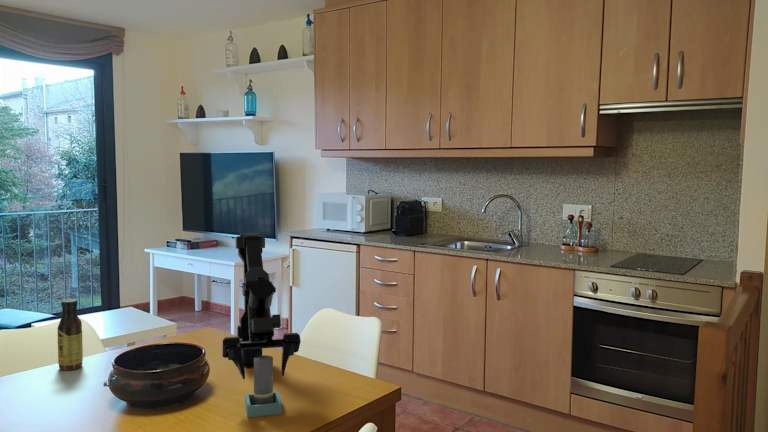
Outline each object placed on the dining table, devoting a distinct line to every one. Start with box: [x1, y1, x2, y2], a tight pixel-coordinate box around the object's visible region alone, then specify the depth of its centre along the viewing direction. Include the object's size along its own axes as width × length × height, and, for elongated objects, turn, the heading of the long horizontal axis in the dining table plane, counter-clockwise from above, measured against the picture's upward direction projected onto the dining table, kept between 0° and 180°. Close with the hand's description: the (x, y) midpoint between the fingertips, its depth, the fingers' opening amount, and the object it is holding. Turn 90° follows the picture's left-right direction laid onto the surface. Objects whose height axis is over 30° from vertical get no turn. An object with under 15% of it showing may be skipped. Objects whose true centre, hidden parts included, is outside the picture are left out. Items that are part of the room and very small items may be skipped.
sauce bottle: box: [56, 298, 84, 371], centre depth 166 cm, size 6×6×20 cm
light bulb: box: [252, 354, 274, 405], centre depth 139 cm, size 5×5×12 cm
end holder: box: [244, 390, 283, 418], centre depth 140 cm, size 8×8×2 cm
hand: (263, 376), depth 138 cm, fingers open, 9 cm apart
